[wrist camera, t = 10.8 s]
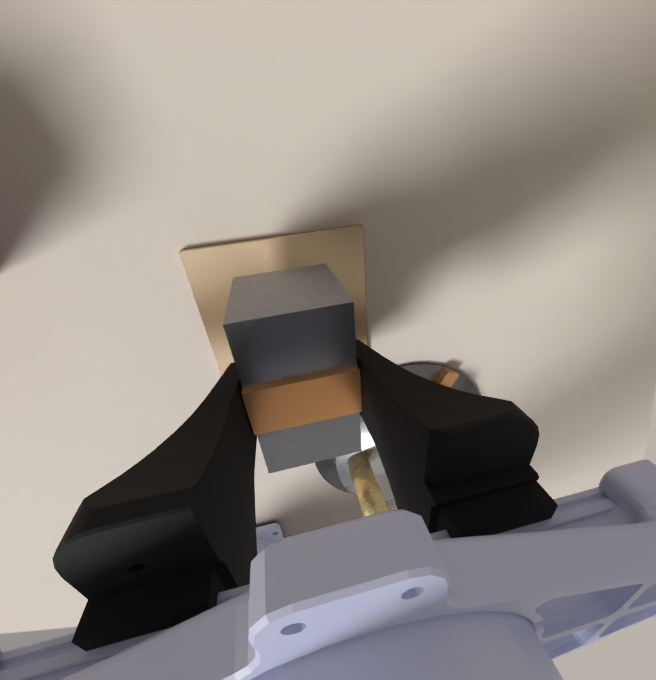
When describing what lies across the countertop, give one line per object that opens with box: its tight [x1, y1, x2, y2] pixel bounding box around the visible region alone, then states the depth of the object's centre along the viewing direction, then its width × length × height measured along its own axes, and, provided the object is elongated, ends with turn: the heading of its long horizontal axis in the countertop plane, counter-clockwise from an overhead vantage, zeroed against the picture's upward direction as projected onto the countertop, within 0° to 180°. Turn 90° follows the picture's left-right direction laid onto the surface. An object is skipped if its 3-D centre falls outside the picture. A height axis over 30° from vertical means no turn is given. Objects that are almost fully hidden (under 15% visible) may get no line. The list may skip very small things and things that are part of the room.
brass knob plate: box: [334, 415, 394, 517], centre depth 21 cm, size 11×11×6 cm
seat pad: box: [179, 225, 367, 375], centre depth 17 cm, size 9×9×1 cm
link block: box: [223, 263, 362, 473], centre depth 13 cm, size 7×4×5 cm, turn 5°
